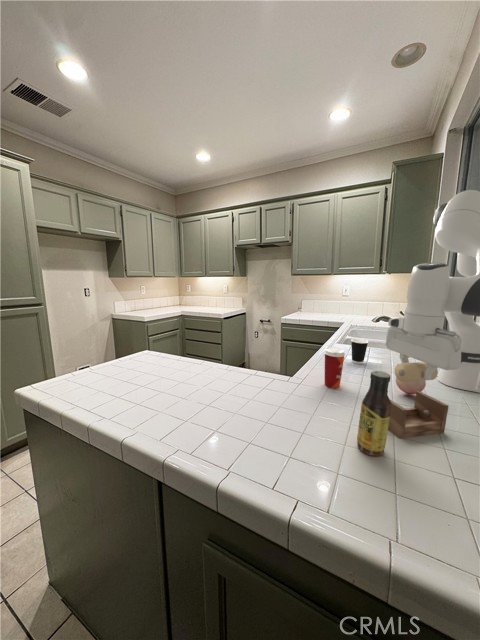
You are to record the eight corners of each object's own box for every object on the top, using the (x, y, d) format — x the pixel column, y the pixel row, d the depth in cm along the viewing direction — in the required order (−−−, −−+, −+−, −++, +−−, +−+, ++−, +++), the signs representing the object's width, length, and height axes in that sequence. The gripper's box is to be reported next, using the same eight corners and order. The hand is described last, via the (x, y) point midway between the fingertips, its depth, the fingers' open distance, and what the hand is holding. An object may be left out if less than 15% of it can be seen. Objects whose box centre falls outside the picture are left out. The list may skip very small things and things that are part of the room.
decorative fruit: (397, 398, 93) (400, 370, 91) (392, 388, 101) (395, 363, 99) (428, 402, 90) (432, 374, 89) (420, 392, 98) (424, 366, 96)
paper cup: (344, 390, 99) (347, 354, 96) (322, 388, 100) (325, 352, 98) (340, 382, 106) (343, 348, 104) (320, 380, 108) (323, 346, 105)
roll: (420, 376, 77) (423, 359, 76) (437, 382, 72) (439, 365, 71) (393, 378, 75) (395, 360, 74) (407, 385, 70) (410, 366, 69)
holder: (416, 415, 81) (419, 391, 80) (444, 432, 73) (448, 405, 71) (375, 420, 78) (378, 394, 77) (399, 438, 70) (403, 410, 68)
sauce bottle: (351, 441, 68) (358, 368, 64) (374, 441, 68) (383, 367, 65) (365, 459, 61) (374, 378, 58) (391, 458, 62) (401, 377, 59)
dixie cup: (369, 363, 130) (372, 341, 128) (359, 365, 126) (362, 343, 124) (355, 358, 137) (357, 338, 135) (345, 361, 132) (347, 339, 131)
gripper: (473, 333, 61) (463, 389, 64) (402, 318, 81) (396, 362, 83) (451, 333, 60) (442, 391, 62) (384, 318, 80) (379, 363, 82)
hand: (415, 374), depth 73 cm, fingers closed on roll, 5 cm apart
